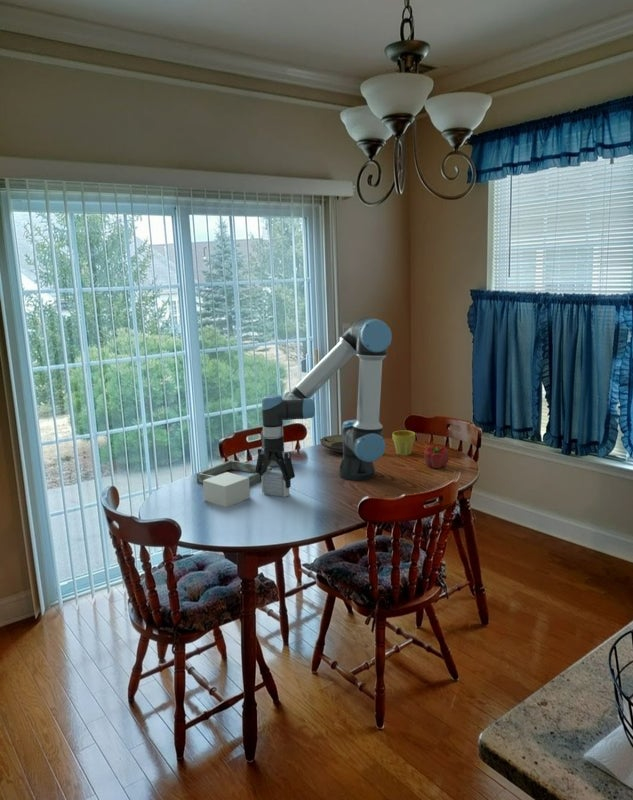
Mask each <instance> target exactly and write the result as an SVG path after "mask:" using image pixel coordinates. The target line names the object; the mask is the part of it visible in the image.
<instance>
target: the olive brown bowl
mask: <svg viewBox="0 0 633 800" xmlns="http://www.w3.org/2000/svg"><path fill="white" fill-rule="evenodd" d="M319 441H320V445H322V446H323V447H324V448H326V449H329V450H331V451H333V452H336V453H341V454H343V437H342V434H336V435H335V434H334V435H333V434H332V435H328V436H323V437H322V438H320V439H319Z"/></svg>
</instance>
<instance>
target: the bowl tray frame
mask: <svg viewBox="0 0 633 800" xmlns="http://www.w3.org/2000/svg"><path fill="white" fill-rule="evenodd" d="M256 464H257V463H256ZM256 464H255V463H250V462H246V461H245V462H244V461H239V460H233V459H230V460H227V461H226V462H222V463H220V464H217V465H215V466H213V467H209V468H208V469H204V470H202V471H200V472H196V482H197V483H201V484H203V480H205V479H208V478H211V477H214V476H217V475H220V474H223V473H226V472H228V471H229V470H235V471H236V470H237V471H241V472H246V473H247V472H248V473H252V474H251V475H248V476H247V477H248V478H249V487H251V486H253V485H255V484H257V483H259V482H260V475H259V473H256V472H255V470H256ZM227 470H228V471H227ZM268 470H272V471H273V467H272V466H268V468H267V470H266V471H268Z"/></svg>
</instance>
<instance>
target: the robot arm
mask: <svg viewBox="0 0 633 800" xmlns="http://www.w3.org/2000/svg"><path fill="white" fill-rule="evenodd" d="M392 337H393V336H392V331H391V328H390V327H389V325H388V324H387V323H386V322H384V321H383V320H381V319H378V318H371V317H361V318H358V319H357V320H355V321H354V322H353V323H352V324H351V325H350V326H349V327H348V328H347V329H346V330H345V331H344V332H343V334H341V335H340V337H339V339H338V340H339V341H338V342H337V343H336V345H335V346H333V348H332V349H330V351H328V353H326V355H325V356H323V358H322V359H321V360H320V361H319V362H318V363H317V364H316V365H315V366H314V367H313V368H312V369H311V370H310V371H309V372H308V373H307V374H306V375H305V376H304V377H303V378H302V379H301V380H300V381H299V382H298V383H297V384H296V385H295V387H294V388H292V390H290V391H288V392H285V393H284V394H283V396H282V395H280V394H266V395H264V396H263V397H262V399H261V416H262V429H263V436H264V438H263V441H264V447H265V448H262V447H260V448H258V449H257V459H256V470H255V472H256V473H259V475H260V481H259V482H260V484H261V492H262V493H264V478H263V474H264V473H265V472H266V470H267V468H268V467H270V466H269V464H270V461H272V460H273V461H276V463H277V464H278V465H279V466H278V467H279V468H280V471H281V472H282V474H283V476H284V478H285V479H284V480H283V491H284V496H283V497H284V498H286V497H288V496H289V495H290V488H291V487H292V486H291V482H292V481H291V479H294V478H295V477H296V474H295V471H294V470H295V469H294V466H293V462H292V457H291V456H292V453H291V452H290V451H287V452H286V451H285V449H284V450H283V446H284V447H285V441H284V440H285V439H284V438H283V436H284V421H291V420H294V421H295V420H307V419H312V418H314V416H315V414H316V413H315V411H316V407H315V402H314V400H313V398H312V397H313V396H315V394H316V393H317V392H318V391H319V390H320V389H321V388H322V387H323V386H324V385H325V384H326V383H327V382H328V381H329V380H330V379H331V378H332V377H333V376H334V375H335V374H336V373H337V372H338V371H339V370H340V368H342V367H343V366H344V365H345V364H346V363H347V362H348V361H349V359H351V358H352V357H353V356H357V357H358V359H359V366H358V385H357V387H358V388H357V389H358V391H357V406H356V419H349V420H345V421H343V422H342V425H341V426H342V427H341V432H342V433H341V435H342V437H343V453H342V459H341V462H340V464H339V468H338V475H339V477H340V478H341V479H345V480H351V481H364V480H368V479H373V478H374V477H375V476H376V474H377V473H376V472H377V471H376V470H377V469H376V467H375V462H376V461H378V460H379V459H380V458H381V457H383V455H384V454H385V450H386V443H385V439H384V438H383V429H384V428H383V427H384V426H383V424H382V423H381V422H380V413H381V412H380V409H381V408H380V407H381V393H382V392H381V390H382V377H383V376H382V373H383V360H384V359H385V358H386V357H387V355H388V347H389V346H390V345H391V343H392V339H393V338H392ZM264 453H265V454H266V457H265V459H264ZM280 459H281V460H280ZM263 460H265V461H264V463H263ZM279 460H280V461H279ZM284 461H285V462H284Z"/></svg>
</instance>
